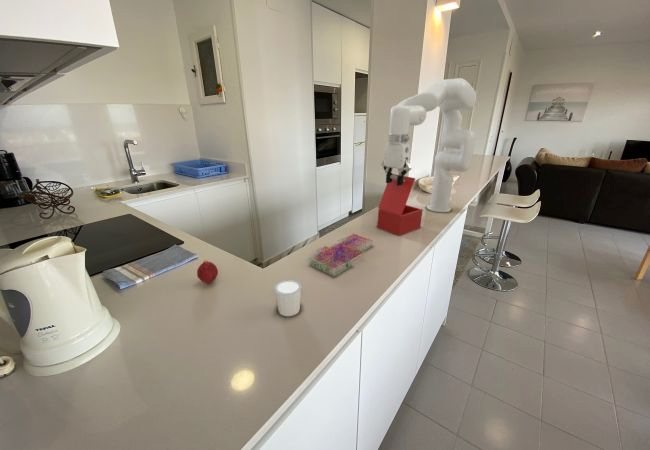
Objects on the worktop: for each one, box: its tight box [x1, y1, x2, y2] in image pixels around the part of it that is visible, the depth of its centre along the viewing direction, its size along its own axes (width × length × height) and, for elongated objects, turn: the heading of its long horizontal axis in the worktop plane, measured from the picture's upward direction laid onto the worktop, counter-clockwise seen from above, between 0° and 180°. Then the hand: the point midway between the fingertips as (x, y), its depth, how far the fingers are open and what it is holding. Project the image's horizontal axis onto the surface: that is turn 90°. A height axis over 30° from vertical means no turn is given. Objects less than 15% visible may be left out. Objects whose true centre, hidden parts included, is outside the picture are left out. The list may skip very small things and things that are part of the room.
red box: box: [376, 204, 423, 236], centre depth 127 cm, size 16×13×9 cm
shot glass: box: [274, 279, 302, 317], centre depth 72 cm, size 7×7×7 cm
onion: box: [196, 259, 219, 284], centre depth 84 cm, size 6×6×8 cm
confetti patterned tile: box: [305, 232, 374, 277], centre depth 102 cm, size 30×15×5 cm, turn 137°
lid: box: [377, 173, 416, 216], centre depth 119 cm, size 16×13×5 cm
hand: (394, 183), depth 117 cm, fingers closed on lid, 5 cm apart
